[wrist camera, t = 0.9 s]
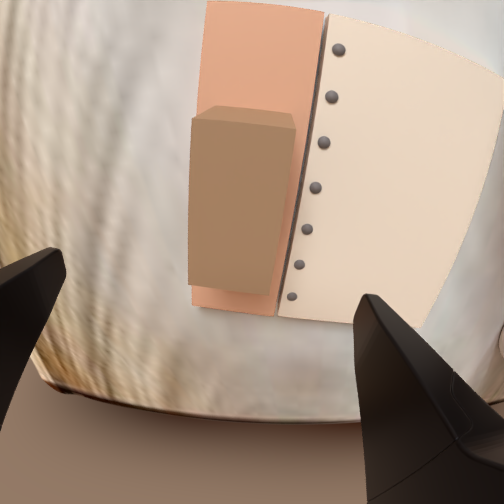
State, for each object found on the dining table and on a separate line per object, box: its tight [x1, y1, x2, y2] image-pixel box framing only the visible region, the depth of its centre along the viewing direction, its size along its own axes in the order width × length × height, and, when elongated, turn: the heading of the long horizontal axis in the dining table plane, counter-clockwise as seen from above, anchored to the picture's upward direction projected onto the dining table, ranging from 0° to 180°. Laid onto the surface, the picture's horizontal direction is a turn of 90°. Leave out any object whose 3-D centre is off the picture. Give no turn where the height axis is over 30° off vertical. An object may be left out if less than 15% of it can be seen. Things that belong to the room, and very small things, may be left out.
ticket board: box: [278, 14, 504, 328], centre depth 18 cm, size 12×20×2 cm, turn 174°
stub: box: [188, 1, 324, 316], centre depth 16 cm, size 6×20×6 cm, turn 174°
